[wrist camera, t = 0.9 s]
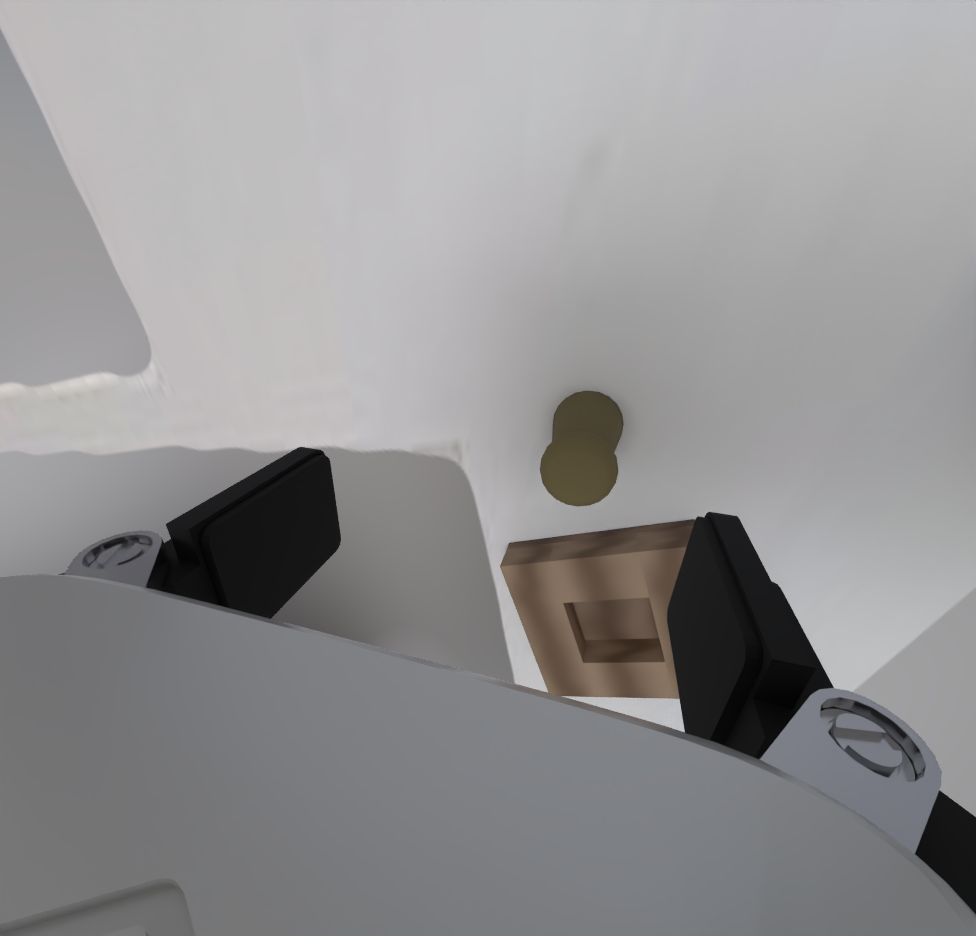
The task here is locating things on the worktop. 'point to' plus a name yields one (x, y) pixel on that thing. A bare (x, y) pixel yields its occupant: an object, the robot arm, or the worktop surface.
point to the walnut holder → (600, 608)
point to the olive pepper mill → (583, 449)
